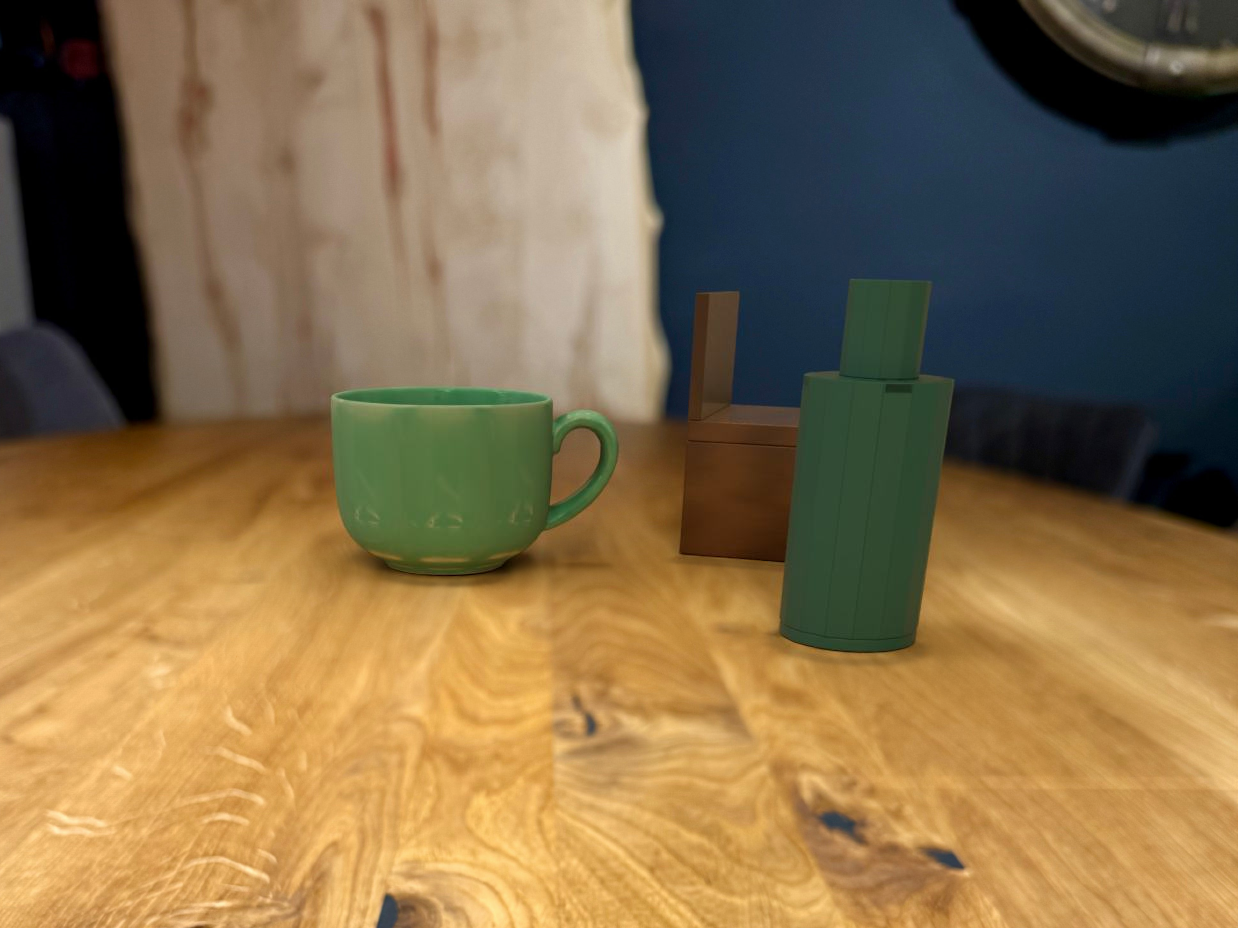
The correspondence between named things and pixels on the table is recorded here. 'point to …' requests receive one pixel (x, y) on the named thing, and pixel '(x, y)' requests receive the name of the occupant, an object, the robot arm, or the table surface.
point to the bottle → (866, 479)
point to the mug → (455, 473)
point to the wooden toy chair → (733, 450)
